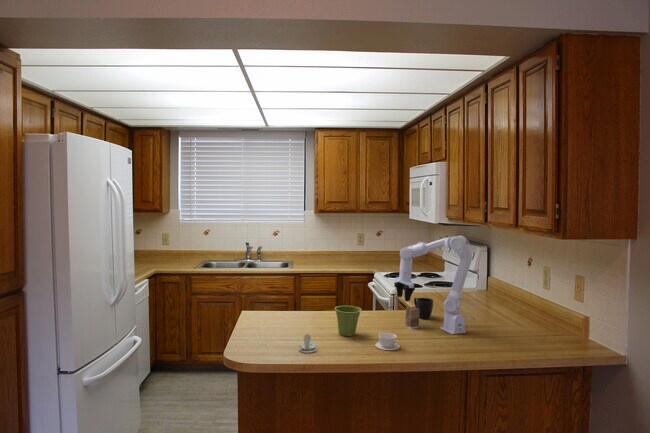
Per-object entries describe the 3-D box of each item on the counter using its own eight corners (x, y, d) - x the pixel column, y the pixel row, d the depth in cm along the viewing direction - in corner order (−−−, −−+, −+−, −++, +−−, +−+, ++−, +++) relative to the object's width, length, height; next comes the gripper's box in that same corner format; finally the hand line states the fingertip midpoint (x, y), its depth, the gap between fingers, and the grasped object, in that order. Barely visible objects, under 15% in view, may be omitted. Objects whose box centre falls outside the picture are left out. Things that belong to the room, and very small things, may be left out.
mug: (420, 313, 222) (421, 295, 221) (435, 319, 211) (436, 300, 210) (408, 314, 218) (409, 296, 218) (422, 320, 207) (423, 302, 207)
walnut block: (418, 327, 195) (419, 309, 195) (410, 328, 194) (411, 309, 193) (413, 325, 200) (413, 306, 199) (405, 326, 198) (405, 307, 197)
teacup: (370, 346, 169) (370, 335, 169) (384, 341, 176) (385, 330, 176) (390, 353, 162) (390, 341, 162) (404, 347, 169) (405, 336, 169)
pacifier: (319, 352, 161) (313, 346, 166) (320, 336, 161) (313, 331, 166) (302, 355, 158) (296, 349, 163) (302, 339, 157) (296, 333, 163)
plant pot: (352, 340, 175) (353, 313, 175) (328, 334, 182) (329, 309, 181) (365, 333, 186) (366, 308, 185) (342, 328, 192) (342, 304, 191)
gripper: (391, 268, 209) (389, 295, 210) (405, 274, 195) (403, 303, 196) (403, 268, 211) (401, 295, 212) (418, 274, 197) (416, 302, 198)
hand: (403, 298), depth 204 cm, fingers open, 7 cm apart
